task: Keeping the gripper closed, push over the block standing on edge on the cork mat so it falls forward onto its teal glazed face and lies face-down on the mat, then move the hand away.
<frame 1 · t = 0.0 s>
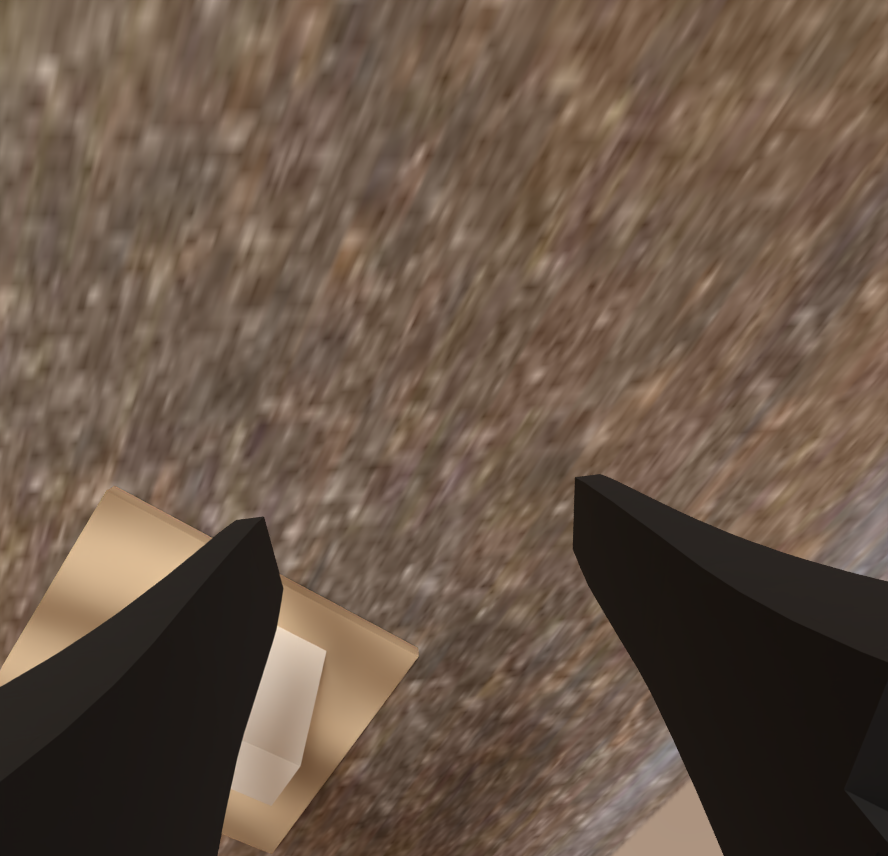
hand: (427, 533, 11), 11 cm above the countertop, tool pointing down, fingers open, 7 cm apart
mat: (203, 683, 23), on the countertop
block: (240, 629, 22), point 1 cm above the countertop, touching mat
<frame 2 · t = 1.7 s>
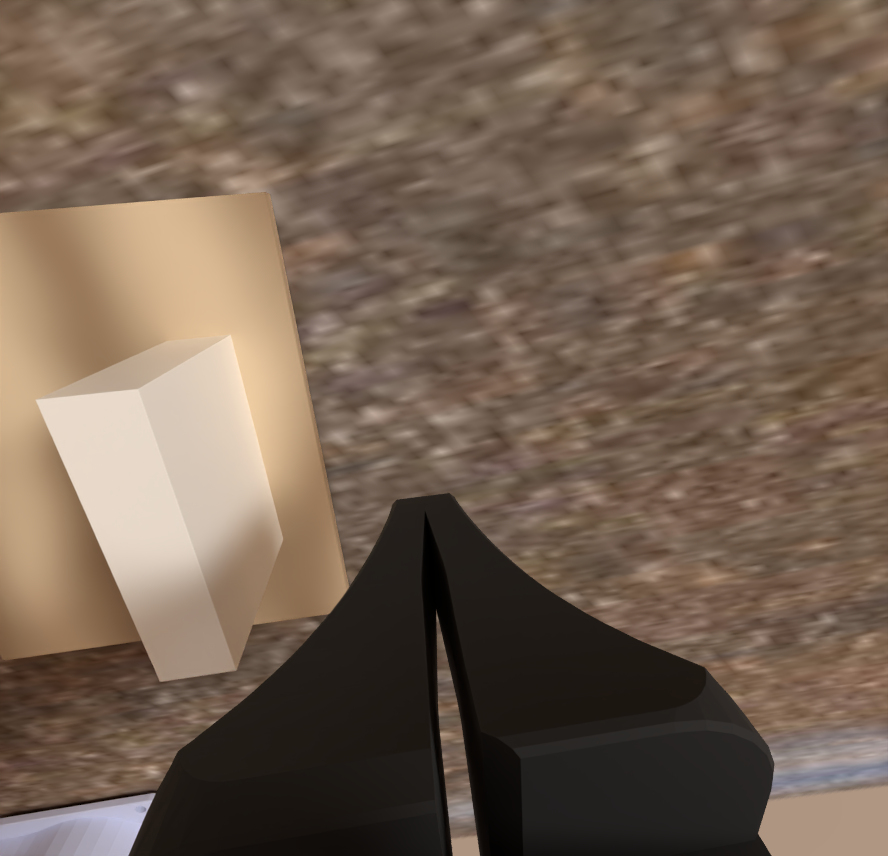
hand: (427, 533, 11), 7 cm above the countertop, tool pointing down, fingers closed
mat: (122, 455, 17), on the countertop
block: (230, 449, 16), point 1 cm above the countertop, touching mat
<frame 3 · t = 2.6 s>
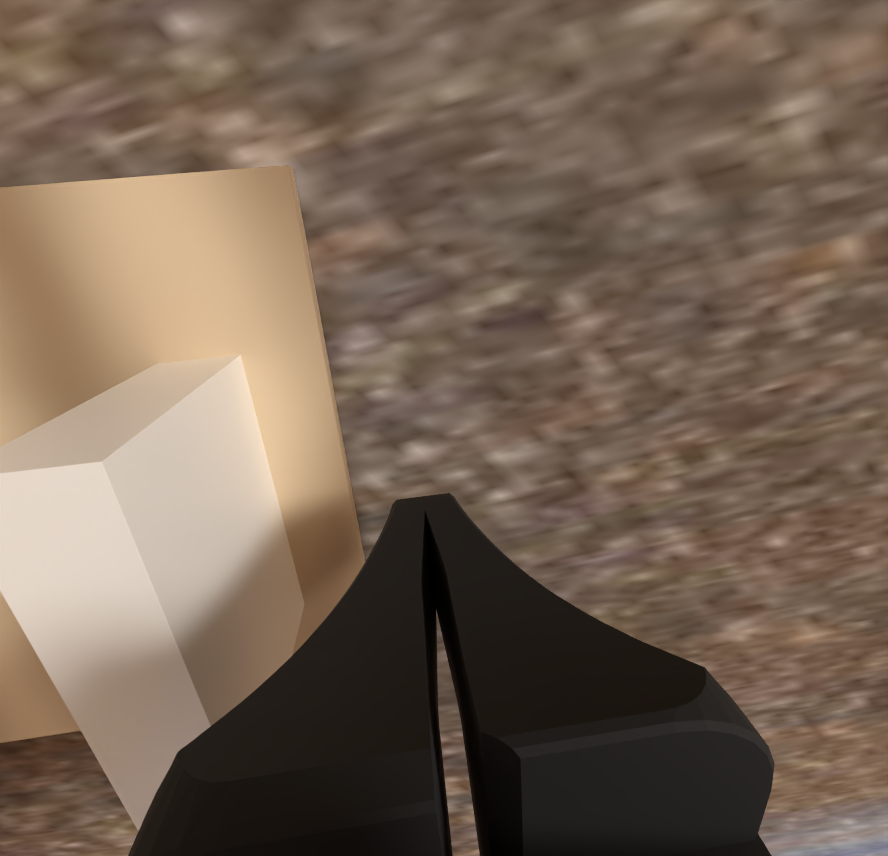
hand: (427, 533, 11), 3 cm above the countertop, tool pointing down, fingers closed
mat: (103, 505, 13), on the countertop
block: (239, 498, 13), point 1 cm above the countertop, touching mat
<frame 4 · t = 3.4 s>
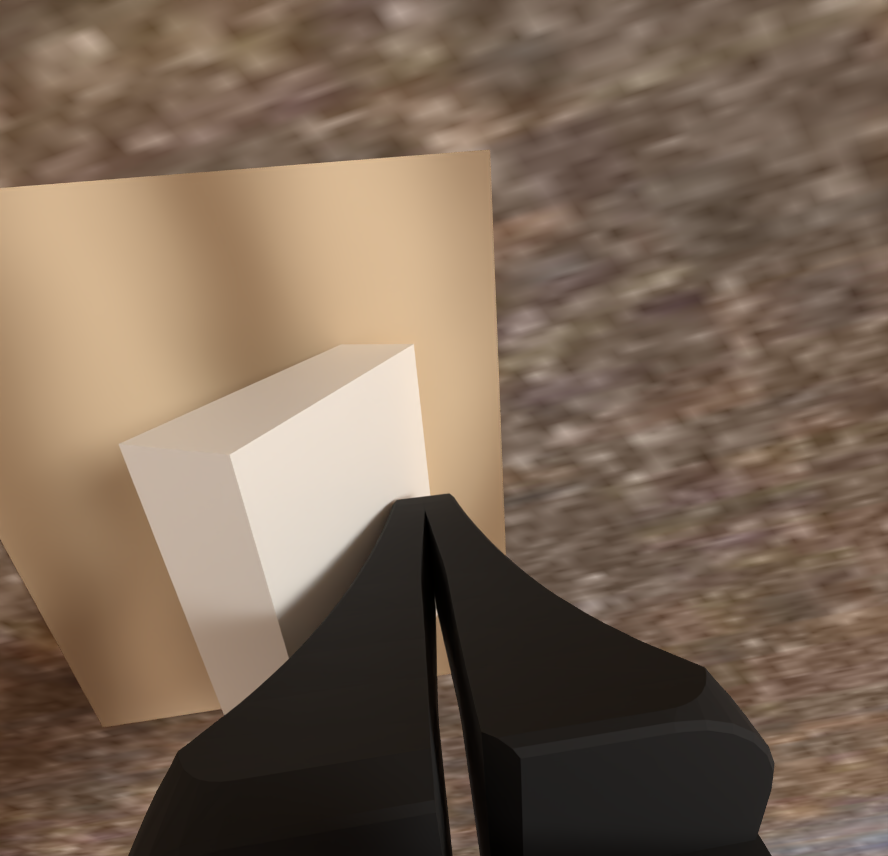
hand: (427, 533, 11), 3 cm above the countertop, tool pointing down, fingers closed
mat: (263, 485, 14), on the countertop
block: (396, 486, 13), point 1 cm above the countertop, tilted 26°, touching mat
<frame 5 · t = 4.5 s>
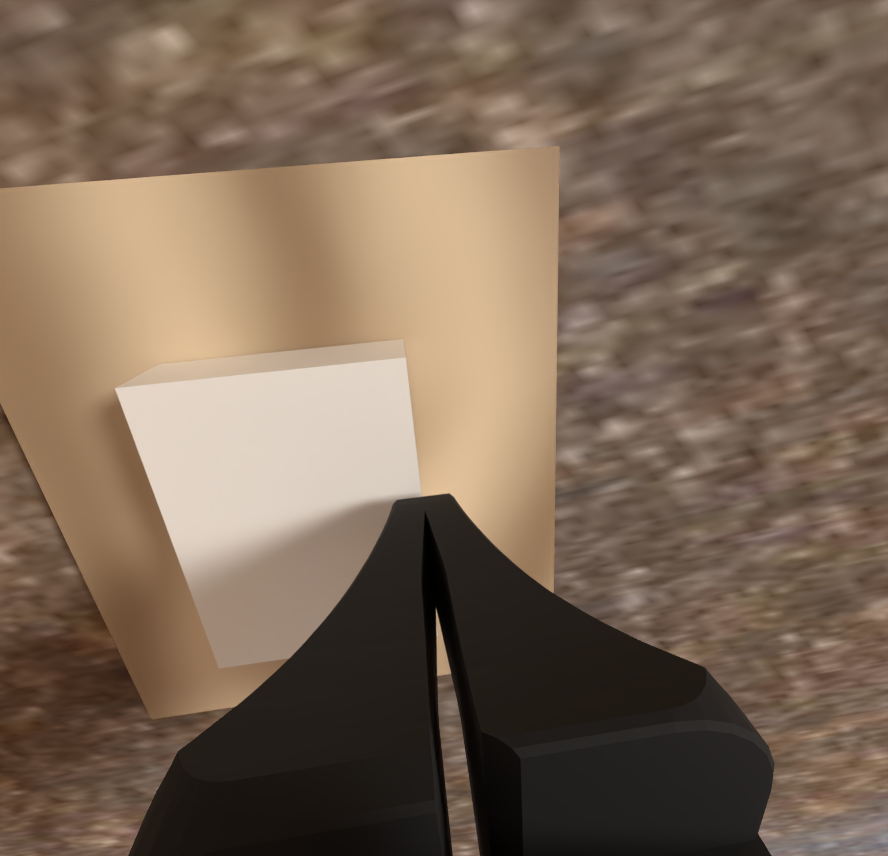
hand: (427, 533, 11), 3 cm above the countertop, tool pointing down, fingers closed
mat: (318, 479, 14), on the countertop
block: (421, 495, 12), point 2 cm above the countertop, tilted 90°, touching mat
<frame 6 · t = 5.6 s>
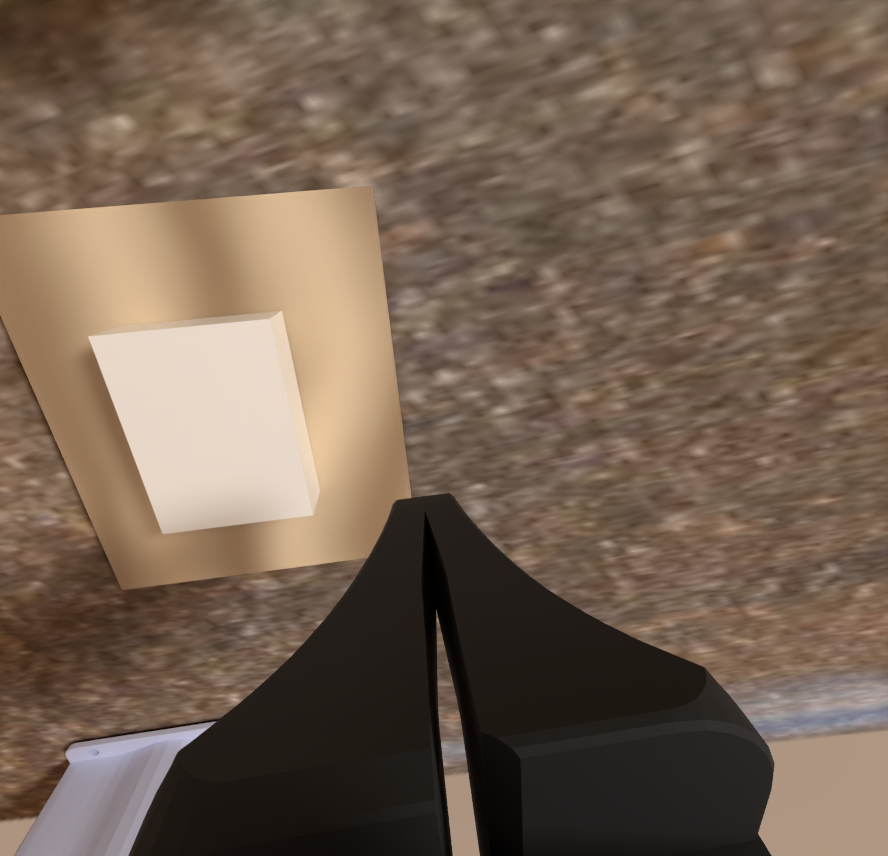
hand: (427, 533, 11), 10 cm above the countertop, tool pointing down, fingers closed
mat: (234, 410, 20), on the countertop
block: (298, 416, 18), point 2 cm above the countertop, tilted 90°, touching mat
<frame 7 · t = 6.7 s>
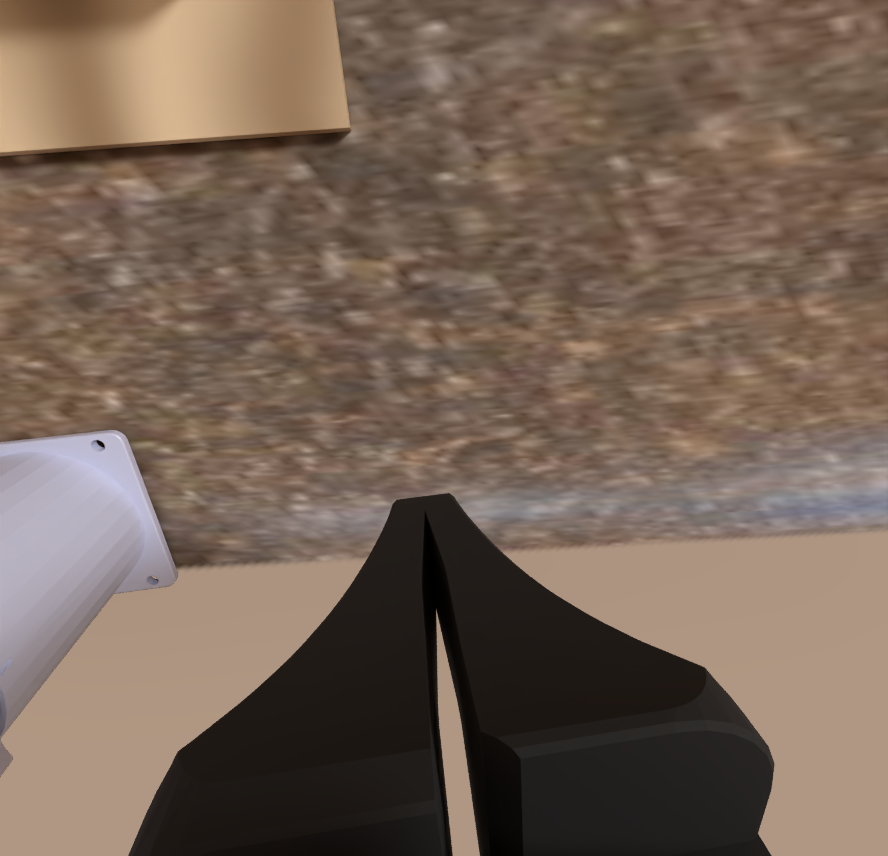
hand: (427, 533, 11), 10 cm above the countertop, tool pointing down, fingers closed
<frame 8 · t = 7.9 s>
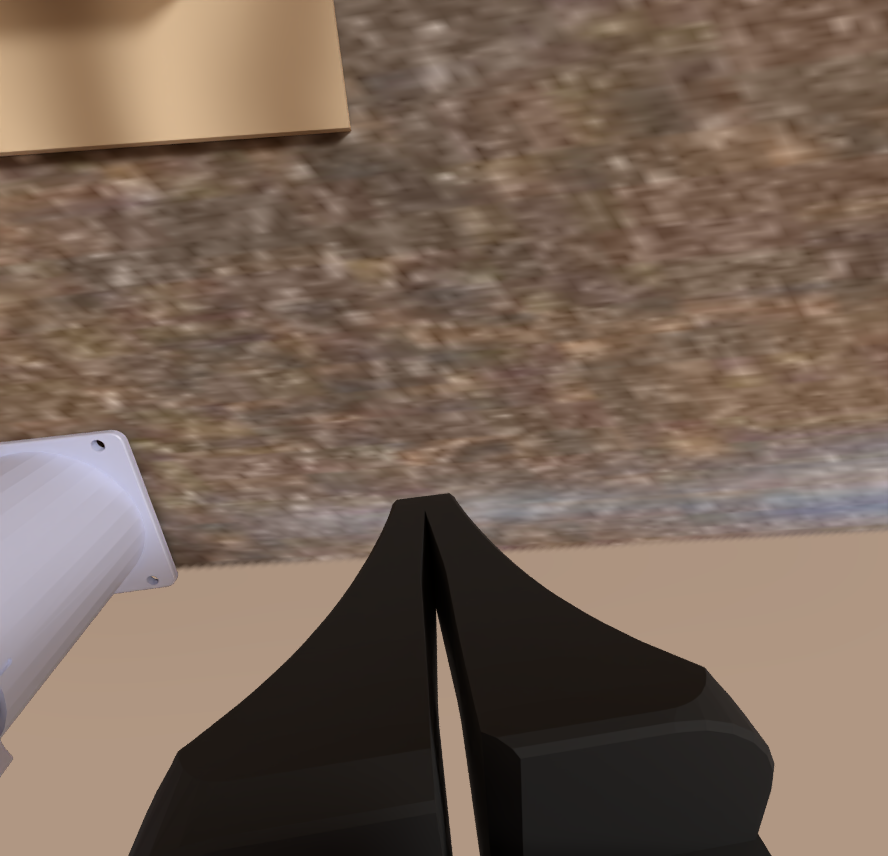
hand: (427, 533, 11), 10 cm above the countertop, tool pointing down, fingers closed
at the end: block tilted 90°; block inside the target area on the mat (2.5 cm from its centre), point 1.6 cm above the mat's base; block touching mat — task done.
